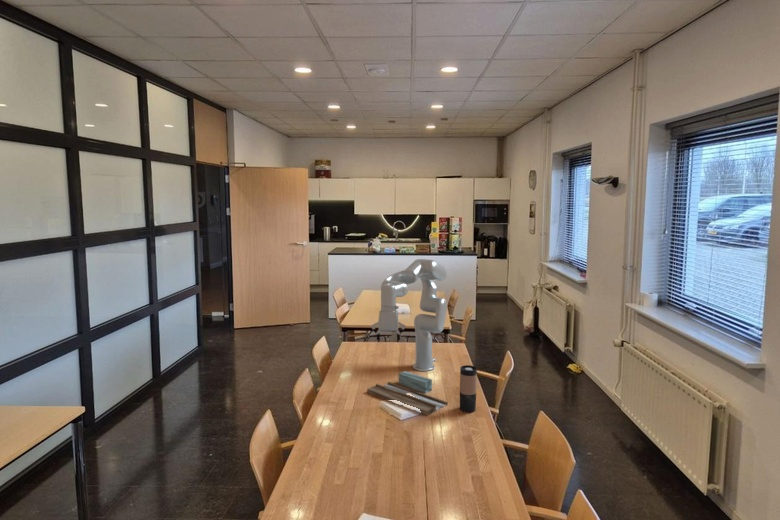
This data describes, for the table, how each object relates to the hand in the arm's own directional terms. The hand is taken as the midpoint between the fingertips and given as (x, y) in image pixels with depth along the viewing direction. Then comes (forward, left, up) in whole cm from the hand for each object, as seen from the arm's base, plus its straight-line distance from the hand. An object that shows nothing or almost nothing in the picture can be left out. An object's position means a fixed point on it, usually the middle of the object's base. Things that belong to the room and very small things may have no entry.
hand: (388, 341), depth 243 cm
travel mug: (-7, +44, -25) cm, 51 cm away
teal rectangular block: (-11, +9, -26) cm, 29 cm away
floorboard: (+3, +15, -25) cm, 29 cm away
